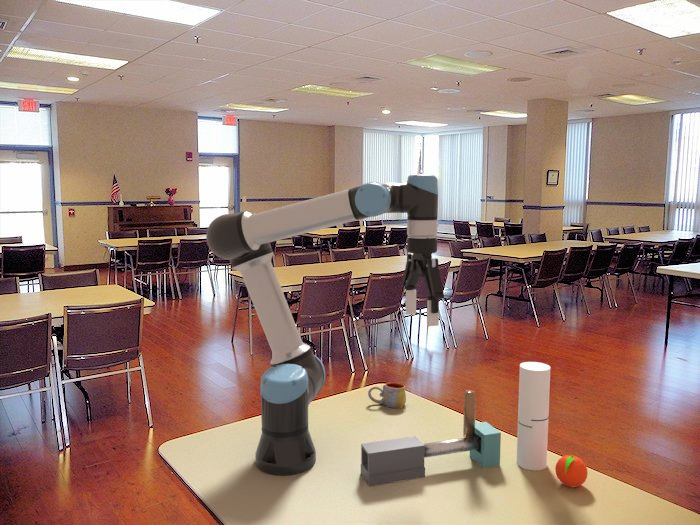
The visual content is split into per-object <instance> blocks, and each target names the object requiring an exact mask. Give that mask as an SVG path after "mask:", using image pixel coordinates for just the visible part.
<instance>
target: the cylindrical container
mask: <svg viewBox="0 0 700 525" xmlns="http://www.w3.org/2000/svg"><path fill="white" fill-rule="evenodd" d="M518 379H519V380H518V383H519V384H518V386H519V387H518V410H517V434H516V435H517V437H516V438H517V439H516V442H517V443H516V464H517V465H518V466H519V467H521V468H522V469H525V470H528V471H536V472H537V471H542V470H545V469H546V468H547V463H548V462H547V461H548V439H549V436H548V435H549V414H550V394H551V393H550V390H551V388H550V385H551V366H550V365H549V364H547V363H544V362H539V361H538V362H537V361H525V362H524V361H523V362H521V363H520V364H519V377H518Z"/></svg>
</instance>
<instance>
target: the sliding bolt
mask: <svg viewBox="0 0 700 525" xmlns="http://www.w3.org/2000/svg"><path fill="white" fill-rule="evenodd" d="M476 395H477V392H476V391H475V390H473V389H466V390H464V392H463V424H462V425H463V431H462V432H463V434H462V436H463V437H460V438H453V439H447V440H440V441H434V442H425V443H423V444H424V445H425V451H424V459H425V458H431V457H437V456H445V455H451V454H457V453H463V452H464V453H465V452H470V451H471V450H478V449H481V437H479V436H475V423H476V400H477V399H476V398H477V396H476Z"/></svg>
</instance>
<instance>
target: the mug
mask: <svg viewBox="0 0 700 525" xmlns="http://www.w3.org/2000/svg"><path fill="white" fill-rule="evenodd" d="M373 390H379V391H380V393H379V397H381V399H377V398H374V397H373V395H372V391H373ZM367 394H368V395H367V396H368V398H369V399H370V400H371V401H372V402H374V403H376V404H378V405H384V406H386V407H388V408H391V409H404V406H405V404H406V402H407V394H406V385H405V384H404V383H403V384H402V383H398V382H387V383H385V384H383V386H382V388H381V387H380V386H379V387H378V386H372V387H371V388H370V389H369V390H368V391H367Z"/></svg>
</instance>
